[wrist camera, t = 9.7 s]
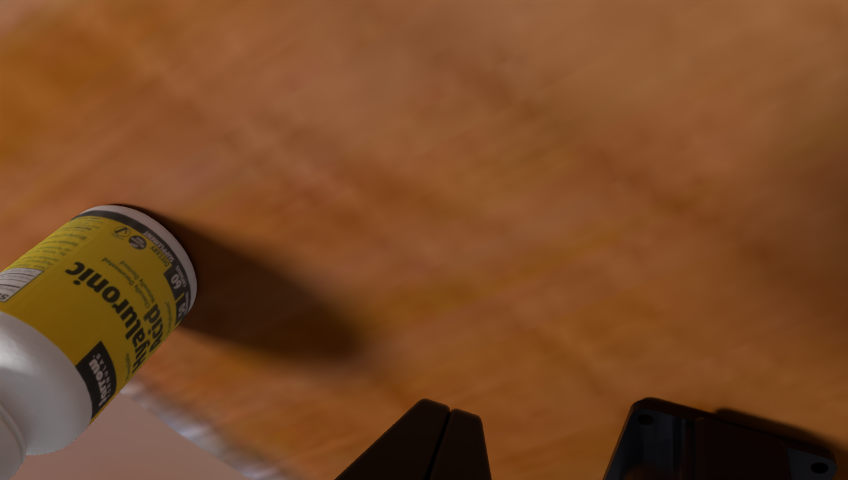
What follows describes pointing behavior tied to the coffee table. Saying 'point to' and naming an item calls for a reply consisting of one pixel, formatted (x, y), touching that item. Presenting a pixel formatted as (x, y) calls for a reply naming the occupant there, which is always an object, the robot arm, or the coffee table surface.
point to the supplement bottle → (83, 324)
